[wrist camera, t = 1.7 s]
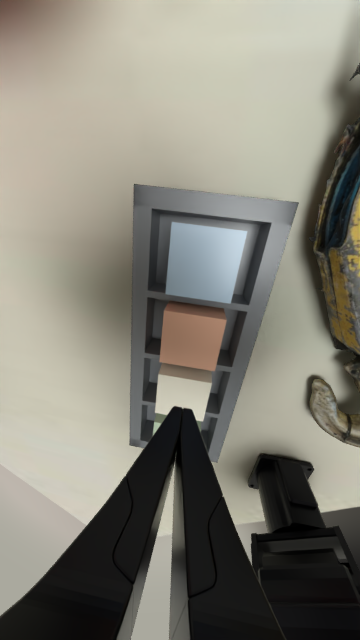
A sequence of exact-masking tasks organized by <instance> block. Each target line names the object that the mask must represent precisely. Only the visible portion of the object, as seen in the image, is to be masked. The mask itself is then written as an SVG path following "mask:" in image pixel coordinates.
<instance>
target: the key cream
mask: <svg viewBox="0 0 360 640" xmlns="http://www.w3.org/2000/svg"><path fill="white" fill-rule="evenodd" d="M211 386H212V373H211V371H209V370H203V369H197V368H191V367H186V366H180V365H174V364H168V363H162V365H161V368H160V371H159V374H158V384H157V395H156V406H155V413H159V414H165V415H168V413H169V412H170V410H171V409H172V408H173V406H178V407H182V408H189V409H192V410H193V413H194V415H195V418H196V420H197V421H202V422H203V420H204V416H205V411H206V407H207V403H208V398H209V394H210V390H211Z"/></svg>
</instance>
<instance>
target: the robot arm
mask: <svg viewBox="0 0 360 640" xmlns="http://www.w3.org/2000/svg"><path fill="white" fill-rule="evenodd" d="M175 457H176V459H175ZM174 463H175V473H174V503H173V533H172V563H171V564H172V565H171V594H170V595H171V596H170V624H169V640H360V571H359V569H358V567H357V564H356V562H355V561H354V558H353V556H352V554H351V552H350V549H349V547H348V545H347V543H346V541H345V539H344V536H343V534H342V532H341V530H340V528H339V526H333V527H331V528H326V525H325V522H324V520H323V518H322V515H321V513H320V510H319V508H318V503H317V501H316V499H315V496H314V494H313V492H312V489H311V487H310V485H309V482H308V478H309V477H310V475H311V474H312V472H313V471H314V468H313V466H312V464H310V463H305V462H299V461H294V460H289V459H284V458H279V457H273V456H268V455H260V456H259V458H258V460H257V462H256V464H255V467H254V469H253V471H252V473H251V476H250V478H249V480H248V486H249V487H250V488H254V489H259V493H260V498H261V503H262V507H263V512H264V517H265V522H266V526H267V531H268V533H265V534H256V533H252V534H251V540H252V544H251V553H252V565H251V563H250V561H249V559H248V556H247V554H246V552H245V549H244V547H243V545H242V542H241V540H240V538H239V536H238V533H237V531H236V528H235V526H234V523H233V521H232V518H231V515H230V513H229V510H228V507H227V505H226V502H225V499H224V497H222V496H223V494H222V491H221V488H220V485H219V483H218V480H217V477H216V474H215V471H214V469H213V466H212V463H211V460H210V457H209V455H208V452H207V449H206V446H205V443H204V441H203V438H202V435H201V432H200V429H199V427H198V424H197V421H196V418H195V415H194V413H193V410H192V409H189V408H182V407H178V406H173V408H172V409H171V410H170V412H169V413H168V415H167V416H166V418H165V419H164V421H163V422H162V423H161V425H160V426H159V428H158V429H157V431H156V432H155V433H154V435H153V436H152V438H151V439H150V441H149V442H148V444H147V445H146V446H145V448H144V449H143V451H142V452H141V454H140V455H139V457H138V458H137V459H136V461H135V462H134V464H133V465H132V467H131V468H130V469H129V471H128V472H127V474H126V476H125V477H124V478H123V479H122V481H121V482H120V484H119V485H118V487H117V488H116V489H115V491H114V492H113V493H112V495H111V496H110V497H109V499H108V500H107V502H106V503H105V504H104V505H103V507H102V508H101V509H100V510H99V511H98V513H97V514H96V515H95V516H94V518H93V519H92V520H91V521H90V522H89V524H88V525H87V526H86V527H85V528H84V530H83V531H82V532H81V533H80V534H79V535H78V537H77V538H76V539H75V540H74V541H73V543H72V544H71V545H70V546H69V547H68V548H67V549H66V551H65V552H64V553H63V554H62V555H61V557H60V558H59V559H58V560H57V561H56V562H55V564H54V565H53V566H52V567H51V568H50V569H49V570H48V572H47V573H46V574H45V575H44V576H43V577H42V578H41V579H40V580H39V581H38V582H37V583H36V585H34V586H33V587H32V588H31V589H30V591H28V593H26V594H25V595H24V596H23V597H22V598H21V599H20V600H19V601H17V602H16V603H15V604H14V605H13V606H12V607H10V608H9V609H8V610H7V611H6V612H4V613H3V614H2V615H1V616H0V640H131V635H132V632H133V628H134V624H135V619H136V616H137V612H138V608H139V604H140V600H141V596H142V592H143V588H144V584H145V580H146V576H147V572H148V568H149V564H150V560H151V556H152V552H153V548H154V544H155V540H156V536H157V532H158V528H159V524H160V520H161V516H162V512H163V508H164V504H165V500H166V496H167V492H168V488H169V484H170V480H171V476H172V472H173V468H174ZM339 559H347V560H348V563H340V562H339Z"/></svg>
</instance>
